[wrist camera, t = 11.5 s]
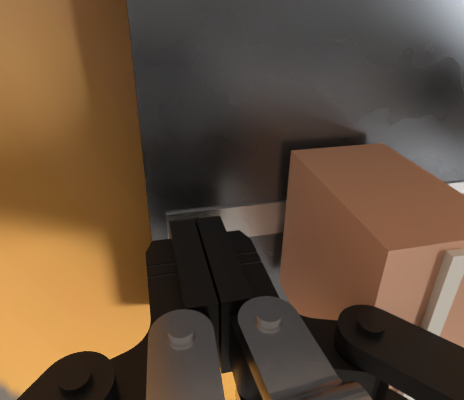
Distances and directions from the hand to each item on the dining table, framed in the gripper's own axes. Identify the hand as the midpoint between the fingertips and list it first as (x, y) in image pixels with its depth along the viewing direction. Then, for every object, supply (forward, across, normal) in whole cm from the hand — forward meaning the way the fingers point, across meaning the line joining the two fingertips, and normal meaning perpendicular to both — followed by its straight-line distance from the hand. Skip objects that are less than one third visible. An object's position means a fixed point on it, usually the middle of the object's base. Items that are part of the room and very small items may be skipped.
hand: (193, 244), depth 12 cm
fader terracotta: (+1, -5, 0) cm, 5 cm away
